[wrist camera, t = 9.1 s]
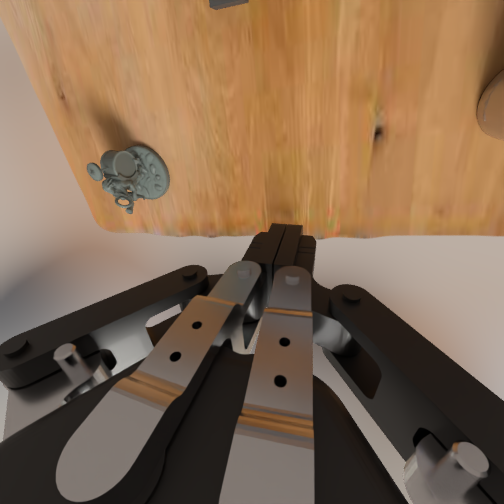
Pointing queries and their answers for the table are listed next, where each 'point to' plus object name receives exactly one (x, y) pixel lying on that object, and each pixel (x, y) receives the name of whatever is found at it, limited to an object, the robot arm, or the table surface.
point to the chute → (225, 3)
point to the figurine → (132, 174)
